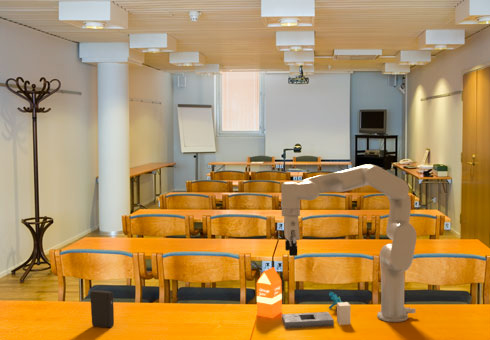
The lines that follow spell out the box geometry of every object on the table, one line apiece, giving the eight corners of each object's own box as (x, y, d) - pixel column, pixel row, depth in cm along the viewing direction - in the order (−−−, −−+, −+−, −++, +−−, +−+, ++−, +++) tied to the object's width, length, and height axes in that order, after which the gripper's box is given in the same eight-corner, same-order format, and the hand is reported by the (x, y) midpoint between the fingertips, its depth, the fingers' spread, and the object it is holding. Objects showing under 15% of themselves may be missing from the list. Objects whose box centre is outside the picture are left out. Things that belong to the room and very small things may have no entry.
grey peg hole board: (328, 317, 257) (327, 311, 257) (333, 325, 248) (333, 319, 247) (281, 320, 256) (281, 314, 255) (285, 328, 246) (285, 322, 245)
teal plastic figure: (344, 310, 262) (329, 292, 265) (335, 318, 263) (319, 301, 266) (349, 305, 272) (333, 288, 275) (339, 314, 274) (324, 297, 276)
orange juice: (282, 312, 266) (281, 267, 264) (272, 318, 258) (271, 272, 256) (266, 309, 270) (266, 265, 268) (256, 315, 263) (255, 270, 261)
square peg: (347, 320, 253) (347, 302, 253) (350, 324, 249) (350, 305, 248) (337, 321, 253) (336, 302, 252) (339, 324, 249) (339, 306, 248)
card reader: (115, 325, 253) (114, 290, 251) (110, 328, 249) (108, 293, 248) (96, 323, 256) (95, 289, 254) (91, 326, 252) (89, 291, 251)
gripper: (303, 215, 239) (304, 257, 241) (296, 208, 256) (296, 248, 258) (285, 215, 238) (285, 258, 240) (278, 209, 256) (279, 248, 257)
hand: (291, 252), depth 249 cm, fingers open, 9 cm apart
